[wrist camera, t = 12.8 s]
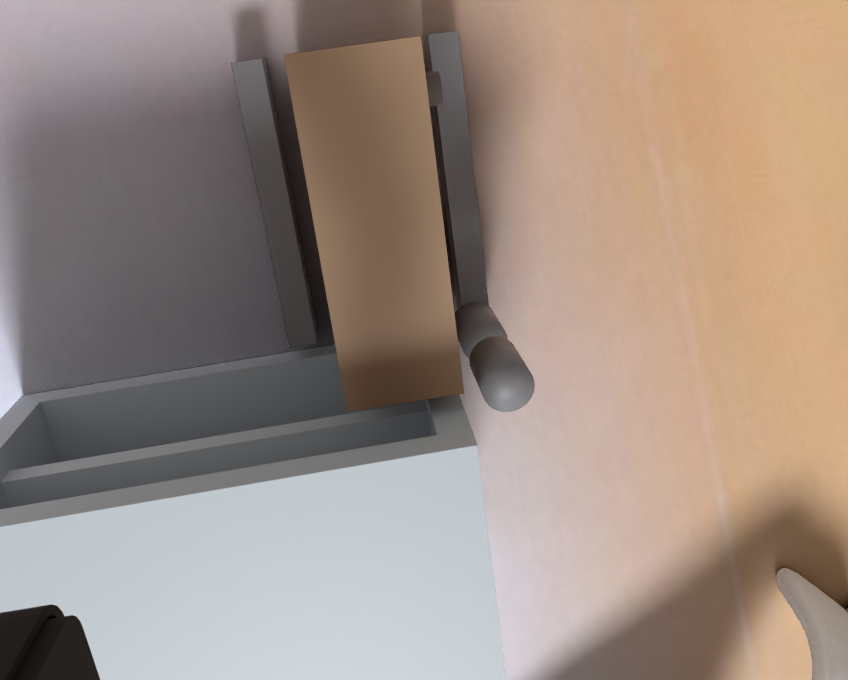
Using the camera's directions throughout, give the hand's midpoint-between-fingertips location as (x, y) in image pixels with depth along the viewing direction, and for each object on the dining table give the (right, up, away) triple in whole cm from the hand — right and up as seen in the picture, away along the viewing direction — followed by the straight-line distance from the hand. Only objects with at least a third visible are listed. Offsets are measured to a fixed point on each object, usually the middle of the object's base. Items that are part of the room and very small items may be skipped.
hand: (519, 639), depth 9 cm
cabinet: (-8, +3, +22) cm, 23 cm away
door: (-3, +9, +21) cm, 23 cm away
